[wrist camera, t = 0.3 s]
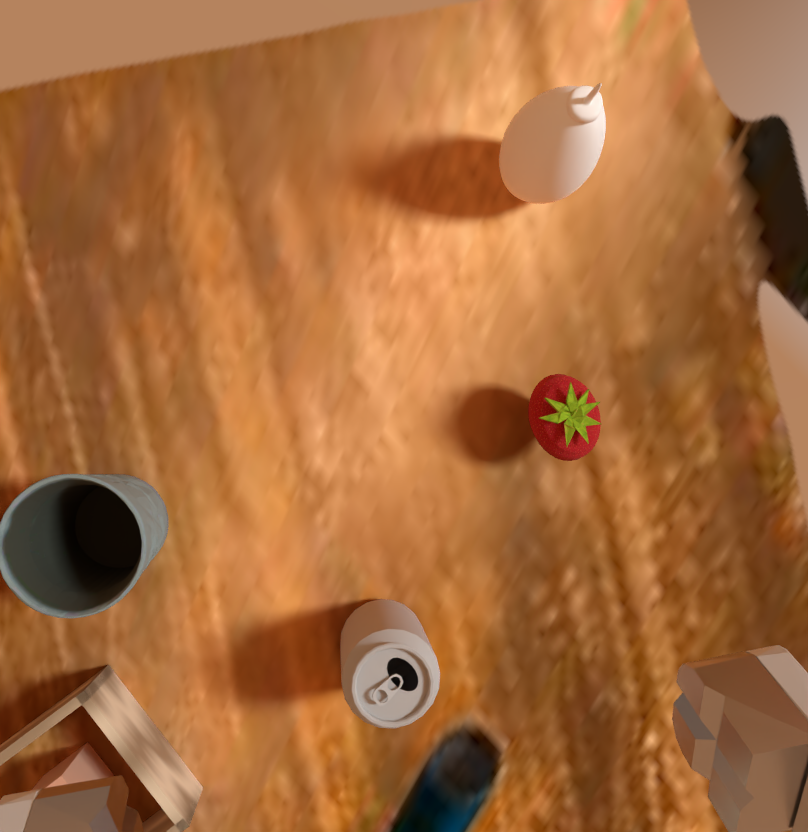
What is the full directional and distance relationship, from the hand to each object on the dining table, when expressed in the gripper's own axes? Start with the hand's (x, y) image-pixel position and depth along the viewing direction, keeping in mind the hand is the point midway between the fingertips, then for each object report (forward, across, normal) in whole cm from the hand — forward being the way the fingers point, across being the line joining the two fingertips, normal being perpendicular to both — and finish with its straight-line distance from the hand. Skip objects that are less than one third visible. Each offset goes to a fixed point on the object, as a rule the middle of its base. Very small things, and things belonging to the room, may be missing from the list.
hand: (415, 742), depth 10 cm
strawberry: (+49, +19, -22) cm, 57 cm away
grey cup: (+47, -20, -26) cm, 57 cm away
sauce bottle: (+59, +21, -3) cm, 63 cm away
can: (+40, +1, -38) cm, 55 cm away
